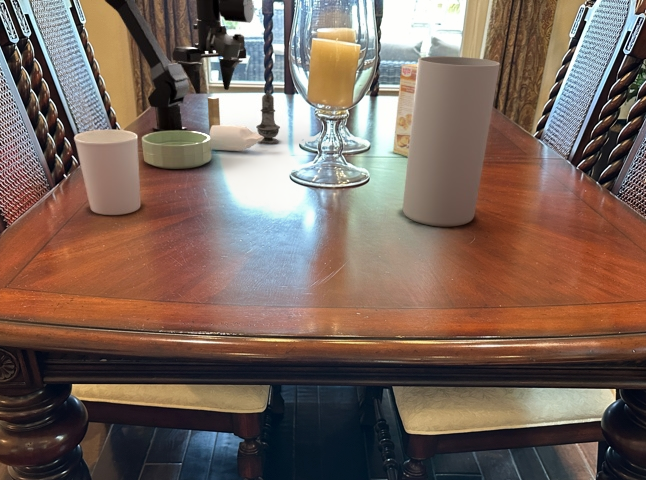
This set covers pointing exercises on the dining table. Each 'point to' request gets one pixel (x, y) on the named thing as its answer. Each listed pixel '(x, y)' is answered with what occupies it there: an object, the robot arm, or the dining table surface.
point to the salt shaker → (268, 121)
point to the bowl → (176, 149)
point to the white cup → (110, 170)
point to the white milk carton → (232, 138)
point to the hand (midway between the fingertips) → (212, 91)
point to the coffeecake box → (405, 109)
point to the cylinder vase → (448, 138)
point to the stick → (213, 111)
